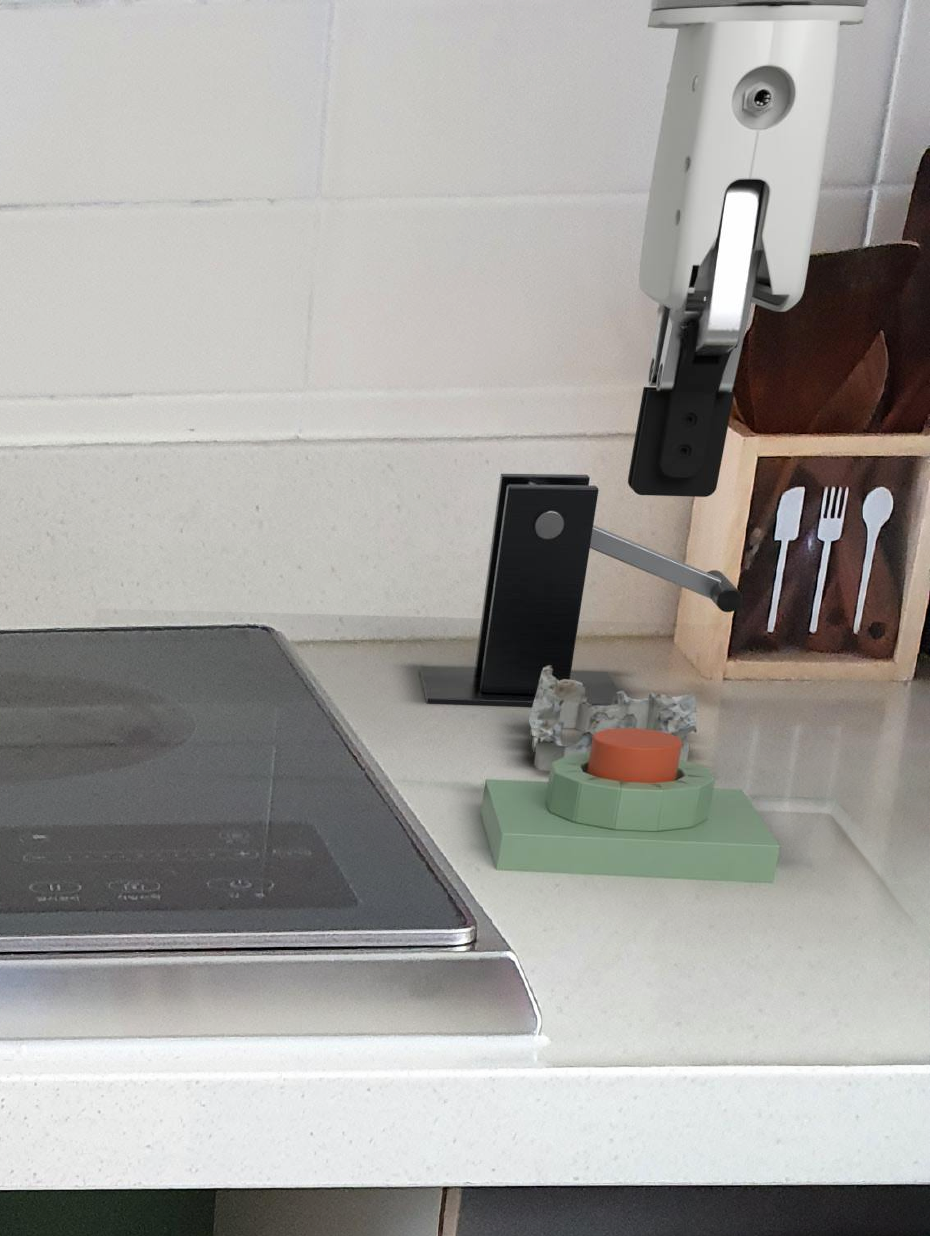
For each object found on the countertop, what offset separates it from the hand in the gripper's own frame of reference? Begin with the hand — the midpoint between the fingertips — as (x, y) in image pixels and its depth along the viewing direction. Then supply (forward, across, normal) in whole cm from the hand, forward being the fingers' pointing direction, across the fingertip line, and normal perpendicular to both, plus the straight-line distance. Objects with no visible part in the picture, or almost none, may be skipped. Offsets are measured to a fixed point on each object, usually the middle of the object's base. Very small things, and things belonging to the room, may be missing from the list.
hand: (670, 492), depth 93 cm
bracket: (+15, +27, +2) cm, 31 cm away
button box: (+15, 0, 0) cm, 15 cm away
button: (+12, 0, 0) cm, 12 cm away
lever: (+8, +27, -2) cm, 28 cm away
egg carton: (+15, +14, -2) cm, 20 cm away
